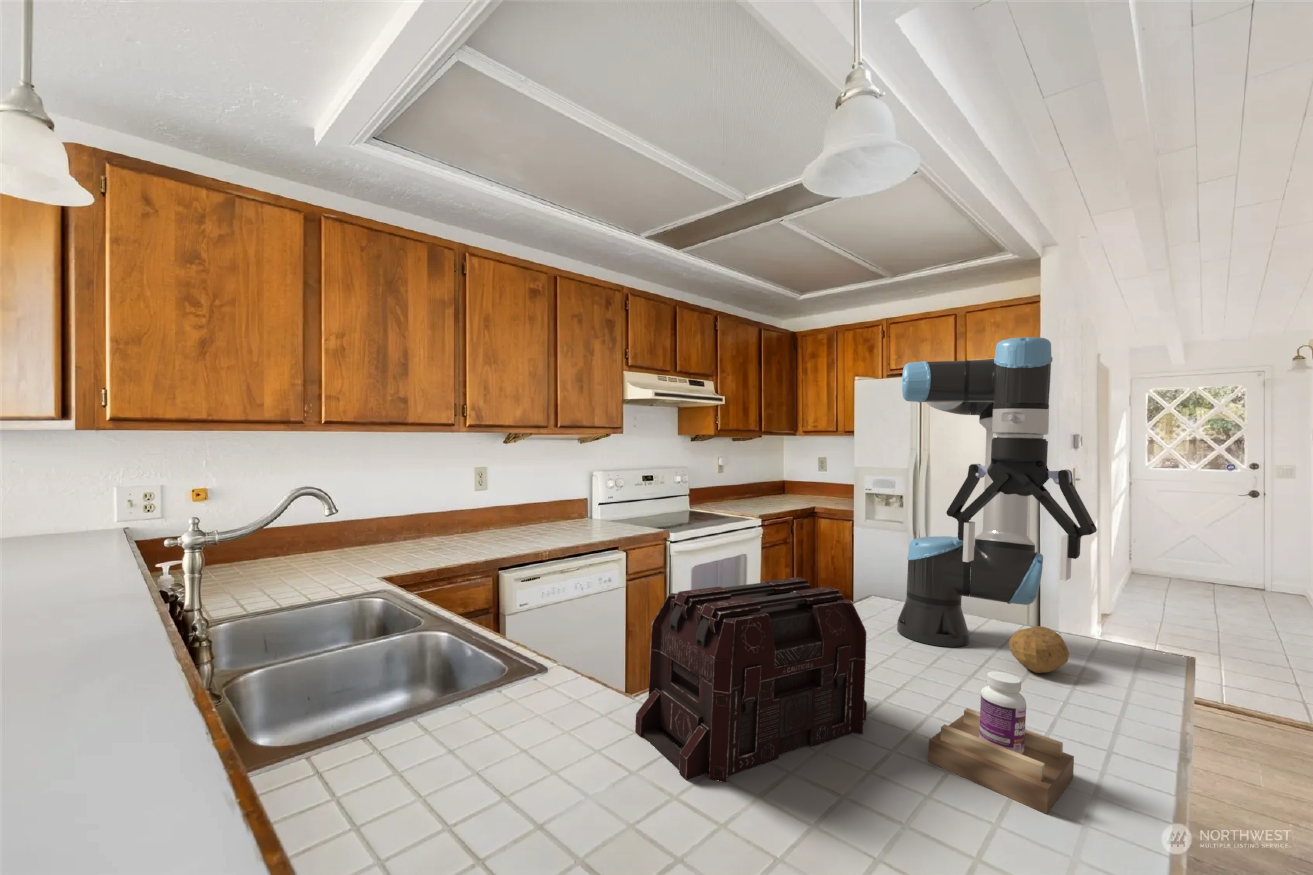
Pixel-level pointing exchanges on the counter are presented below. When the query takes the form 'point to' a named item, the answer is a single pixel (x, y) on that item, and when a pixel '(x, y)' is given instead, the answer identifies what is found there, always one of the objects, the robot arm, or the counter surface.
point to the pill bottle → (1003, 712)
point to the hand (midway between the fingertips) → (1013, 569)
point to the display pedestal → (1004, 762)
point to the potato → (1039, 649)
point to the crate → (752, 675)
